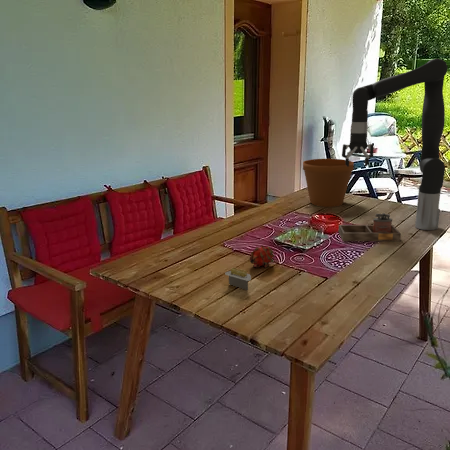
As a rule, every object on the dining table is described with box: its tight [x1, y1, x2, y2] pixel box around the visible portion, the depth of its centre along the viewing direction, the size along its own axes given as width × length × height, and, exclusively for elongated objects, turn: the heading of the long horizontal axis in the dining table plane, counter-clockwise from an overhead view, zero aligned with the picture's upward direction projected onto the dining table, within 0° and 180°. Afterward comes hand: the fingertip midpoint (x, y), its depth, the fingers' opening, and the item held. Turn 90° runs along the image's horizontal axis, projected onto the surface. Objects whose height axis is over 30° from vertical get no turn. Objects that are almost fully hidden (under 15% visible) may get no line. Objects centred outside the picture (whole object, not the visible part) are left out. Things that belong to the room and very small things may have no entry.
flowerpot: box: [302, 158, 354, 208], centre depth 260 cm, size 28×28×24 cm
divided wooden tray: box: [338, 224, 401, 242], centre depth 202 cm, size 24×12×4 cm, turn 85°
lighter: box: [372, 212, 393, 233], centre depth 201 cm, size 8×3×10 cm, turn 84°
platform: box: [224, 267, 252, 291], centre depth 155 cm, size 12×18×7 cm, turn 53°
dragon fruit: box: [249, 245, 275, 268], centre depth 172 cm, size 8×8×12 cm
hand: (356, 166), depth 216 cm, fingers open, 8 cm apart
